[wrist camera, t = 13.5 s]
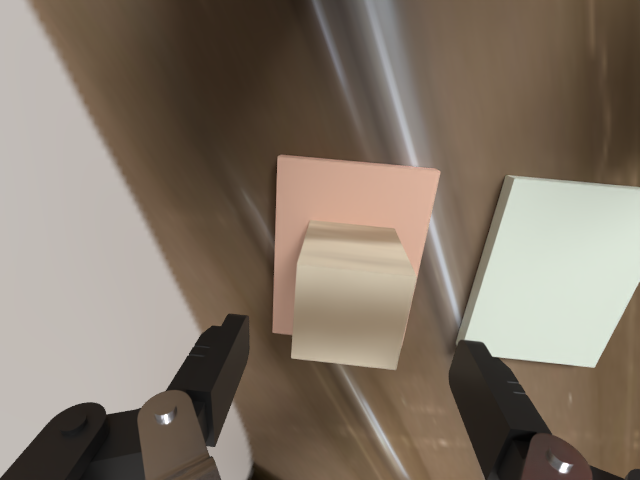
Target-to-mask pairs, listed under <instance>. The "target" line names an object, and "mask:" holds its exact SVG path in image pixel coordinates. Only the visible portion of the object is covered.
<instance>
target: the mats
mask: <svg viewBox="0 0 640 480" xmlns="http://www.w3.org/2000/svg"><path fill="white" fill-rule="evenodd" d="M440 172H441V171H439V170H437V169H434V168H423V167H412V166H401V165H390V164H379V163H368V162H357V161H346V160H335V159H324V158H313V157H302V156H291V155H279V156H278V160H277V194H276V228H275V262H274V296H273V331H272V333H279V334H288V335H293V319H294V303H295V287H296V271H297V262H298V259H299V256H300V252H301V249H302V246H303V242H304V239H305V236H306V232H307V229H308V226H309V222H310V220H316V221H326V222H336V223H346V224H356V225H366V226H376V227H386V228H394V229H395V231H396V233H397V235H398V237H399V239H400V241H401V244H402V246H403V248H404V250H405V252H406V254H407V257H408V259H409V261H410V263H411V265H412V267H413V269H414V272H415V274H416V276H418V272H419V267H420V262H421V258H422V253H423V249H424V244H425V240H426V235H427V231H428V226H429V222H430V217H431V213H432V208H433V204H434V199H435V195H436V190H437V186H438V181H439V177H440ZM416 281H417V279H416ZM639 281H640V187H632V186H621V185H610V184H599V183H588V182H577V181H566V180H555V179H544V178H533V177H522V176H511V175H506V176H505V180H504V183H503V186H502V190H501V193H500V196H499V200H498V203H497V206H496V210H495V213H494V216H493V220H492V223H491V226H490V230H489V233H488V236H487V240H486V243H485V246H484V250H483V253H482V256H481V260H480V263H479V266H478V270H477V273H476V276H475V280H474V283H473V286H472V290H471V293H470V296H469V300H468V303H467V306H466V310H465V313H464V316H463V320H462V323H461V326H460V330H459V333H458V336H457V340H456V345H458V342H459V341H460V340H471V341H480V342H483V343H484V344H485V345H486V347H487V349H488V350H489V352H490V354H491V355H492V357H501V358H511V359H520V360H529V361H539V362H548V363H557V364H566V365H576V366H585V367H595V366H596V364H597V362H598V360H599V358H600V356H601V354H602V352H603V350H604V348H605V346H606V344H607V343H608V341H609V339H610V337H611V335H612V333H613V331H614V329H615V327H616V325H617V323H618V322H619V320H620V318H621V316H622V314H623V312H624V310H625V308H626V306H627V304H628V302H629V301H630V299H631V297H632V295H633V293H634V291H635V289H636V287H637V285H638V283H639ZM415 285H416V283H415ZM414 290H415V288H414ZM413 294H414V292H413ZM412 299H413V297H412ZM411 303H412V301H411ZM410 308H411V306H410ZM409 312H410V310H409ZM408 317H409V314H408ZM407 321H408V319H407ZM406 326H407V323H406ZM405 330H406V328H405ZM404 335H405V332H404ZM403 339H404V337H403ZM402 344H403V341H402ZM401 347H402V346H401Z"/></svg>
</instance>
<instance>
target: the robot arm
mask: <svg viewBox="0 0 640 480" xmlns="http://www.w3.org/2000/svg"><path fill="white" fill-rule="evenodd" d="M248 355H249V316H247V315H237V314H228V315H227V317H226V318H225V320H224V322H223V324H222V325H221V326H211V327H210V328H209V329H207V330H206V331H205V332H203V333H202V334H201V335H200V337H199V339H198V340H197V342H196V343H195V346H194V347H193V348H192V350H191V352H190V353H189V356H187V358H186V359H185V361H184V363H183V364H182V366H181V367H180V369H179V371H178V372H177V374H176V375H175V377H174V379H173V380H172V382H171V384H170V385H169V386H168V388H167V390H166V391H165V392H161V393H159V394H157V395H155V396H154V397H152V398H151V399H149V400H148V401H147V402H146V403H145V404H144V405H143V406H142V408H139V409H136V410H131V411H125V412H119V413H114V414H108V415H106V411H105V409H104V407H103V406H101V405H100V404H97V403H92V402H90V403H82V404H78V405H75V406H72V407H70V408H68V409H66V410H64V411H62V412H61V413H59V414H58V415H56V416H55V417H54V418H53V419H52V420H51V421H50V422H49V423H48V424H47V425H46V426H45V427H44V428H43V430H42V431H41V432H40V433H39V434H38V435H37V436H36V438H35V439H34V440H33V441H32V442H31V443H30V444H29V446H28V447H27V448H26V449H25V450H24V451H23V453H22V454H21V455H20V456H19V457H18V458H17V459H16V461H15V462H14V463H13V464H12V465H11V467H10V468H9V469H8V470H7V471H6V472H5V473H4V475H3V476H2V477H1V478H0V480H221V478H220V475H219V472H218V469H217V466H216V464H215V461H214V459H213V457H212V456H211V457H210V456H209V453H208V450H207V447H206V446H211V447H215V446H216V443H217V440H218V438H219V435H220V432H221V430H222V427H223V424H224V422H225V419H226V416H227V414H228V411H229V409H230V406H231V403H232V401H233V398H234V395H235V393H236V390H237V387H238V385H239V382H240V380H241V377H242V374H243V372H244V369H245V366H246V364H247V360H248ZM449 385H450V388H451V391H452V394H453V396H454V399H455V402H456V404H457V407H458V409H459V412H460V415H461V417H462V420H463V422H464V425H465V428H466V430H467V433H468V435H469V438H470V441H471V443H472V446H473V448H474V451H475V454H476V456H477V459H478V462H479V464H480V467H481V469H482V472H483V475H484V477H485V480H640V469H634V470H631V471H630V472H629V473H628V475H627V476H626V477H625V479H623V478H621V477H618V476H616V475H613V474H610V473H608V472H605V471H603V470H600V469H598V468H595V467H593V466H590V465H589V464H588V462H587V461H586V459H585V458H584V457H583V456H582V455H581V454H580V453H579V451H578V450H576V449H575V448H574V447H573V446H572V445H570V444H569V443H567V442H566V441H564V440H563V439H561V438H559V437H556V436H554V435H552V433H551V431H550V430H549V428H548V427H547V425H546V424H545V422H544V421H543V419H542V417H541V416H540V414H539V413H538V411H537V410H536V408H535V407H534V405H533V403H532V402H531V400H530V399H529V397H528V396H527V395H526V394H525V391H524V389H523V388H522V386H521V385H520V384H519V382H518V380H517V379H516V377H515V375H514V374H513V372H512V371H511V369H510V368H509V367H508V366H506V365H505V364H504V363H503V362H502V361H501V360H500V359H499V358H496V357H492V355H491V354H490V352H489V350H488V349H487V347H486V345H485V344H484V343H483V342H480V341H471V340H460V341H459V342H458V345H457V348H456V351H455V354H454V357H453V360H452V364H451V367H450V370H449Z"/></svg>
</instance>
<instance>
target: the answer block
mask: <svg viewBox="0 0 640 480" xmlns="http://www.w3.org/2000/svg"><path fill="white" fill-rule="evenodd" d="M416 279H417V276H416V274H415V272H414V269H413V267H412V265H411V263H410V261H409V259H408V257H407V254H406V252H405V250H404V248H403V246H402V244H401V241H400V239H399V237H398V235H397V233H396V231H395V229H394V228H386V227H376V226H366V225H356V224H346V223H336V222H326V221H316V220H310V222H309V226H308V229H307V232H306V236H305V239H304V242H303V246H302V249H301V252H300V256H299V259H298V262H297V271H296V287H295V303H294V319H293V335H292V351H291V358H294V359H303V360H312V361H320V362H329V363H338V364H347V365H356V366H365V367H374V368H382V369H391V370H396V368H397V363H398V359H399V354H400V350H401V346H402V341H403V337H404V332H405V328H406V323H407V319H408V314H409V310H410V306H411V301H412V297H413V292H414V288H415V283H416Z"/></svg>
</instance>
